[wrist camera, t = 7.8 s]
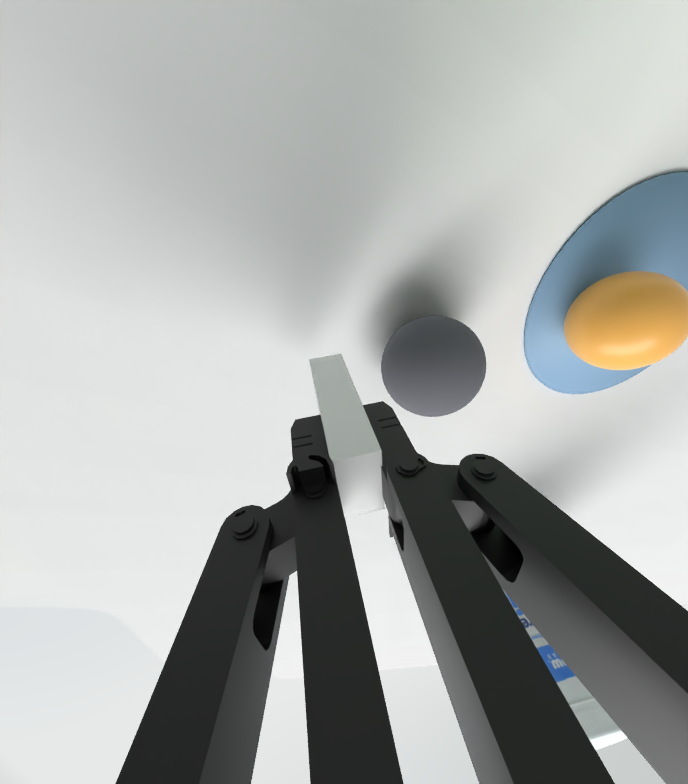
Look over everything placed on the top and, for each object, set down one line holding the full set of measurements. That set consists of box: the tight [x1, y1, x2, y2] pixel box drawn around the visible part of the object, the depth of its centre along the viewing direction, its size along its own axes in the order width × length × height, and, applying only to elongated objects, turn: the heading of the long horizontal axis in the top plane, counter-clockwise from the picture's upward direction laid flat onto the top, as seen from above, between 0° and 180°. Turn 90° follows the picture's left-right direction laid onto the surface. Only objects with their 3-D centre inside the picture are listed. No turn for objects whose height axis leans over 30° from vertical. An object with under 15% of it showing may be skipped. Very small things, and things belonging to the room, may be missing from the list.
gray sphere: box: [381, 315, 486, 417], centre depth 17 cm, size 6×6×6 cm
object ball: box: [564, 271, 688, 370], centre depth 18 cm, size 6×6×6 cm
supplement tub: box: [503, 590, 627, 750], centre depth 28 cm, size 10×10×15 cm
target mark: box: [524, 172, 688, 394], centre depth 20 cm, size 14×14×1 cm
